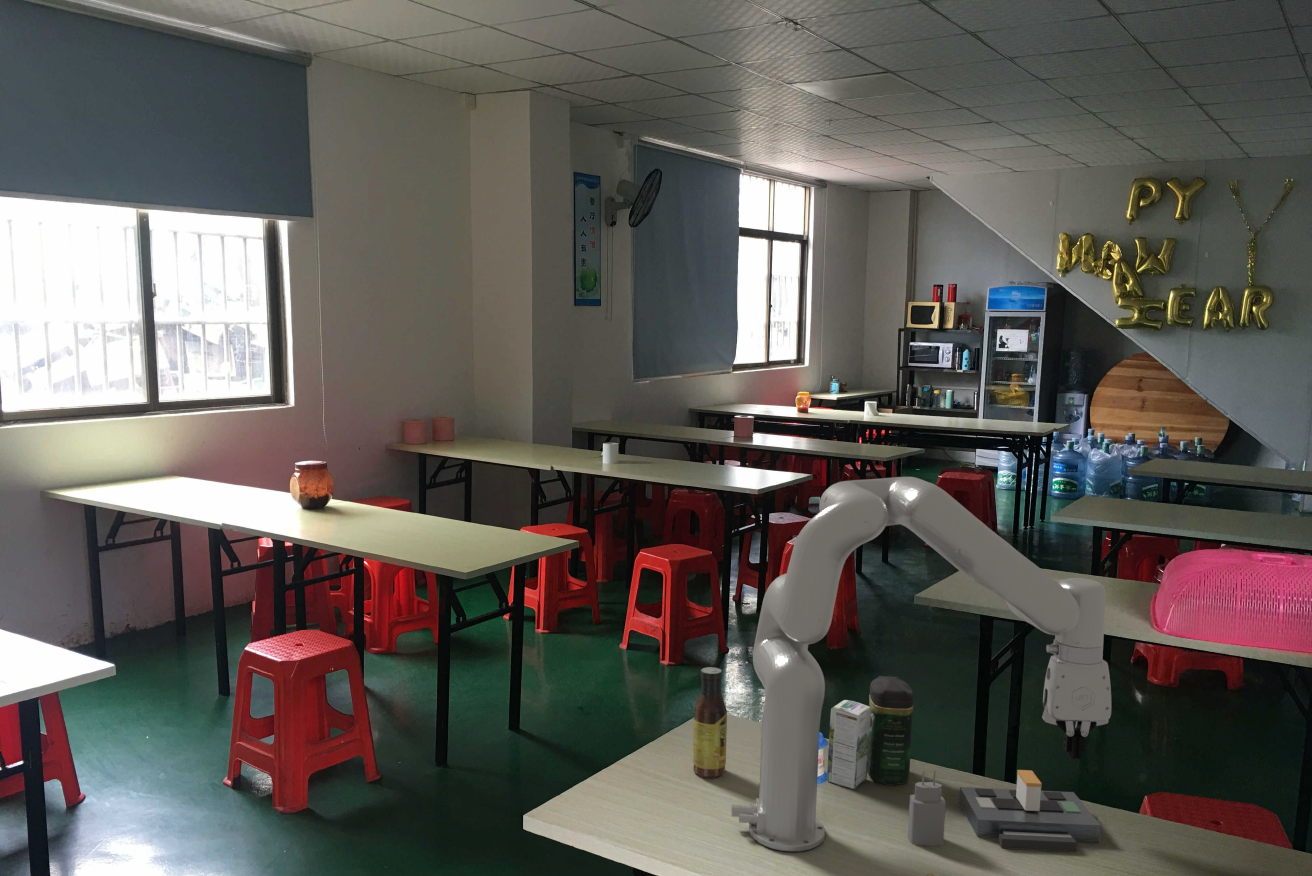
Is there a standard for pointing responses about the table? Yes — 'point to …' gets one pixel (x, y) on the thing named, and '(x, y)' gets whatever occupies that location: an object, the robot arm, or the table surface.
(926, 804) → the power adapter
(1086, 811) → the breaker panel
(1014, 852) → the table surface
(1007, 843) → the dark grey bar
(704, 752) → the sauce bottle
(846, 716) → the syrup box
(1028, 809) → the lever
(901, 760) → the coffee jar
